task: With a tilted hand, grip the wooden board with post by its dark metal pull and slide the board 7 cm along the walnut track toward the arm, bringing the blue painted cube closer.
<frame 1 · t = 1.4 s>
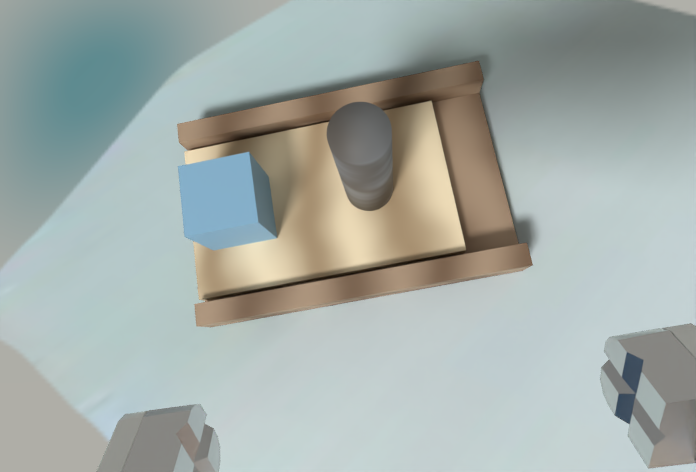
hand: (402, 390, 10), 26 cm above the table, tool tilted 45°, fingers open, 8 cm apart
track: (346, 200, 38), on the table
wooden board with post: (306, 178, 32), point 6 cm above the table, slide at 0.0 cm, touching cube
cube: (241, 213, 36), point 2 cm above the table, touching wooden board with post
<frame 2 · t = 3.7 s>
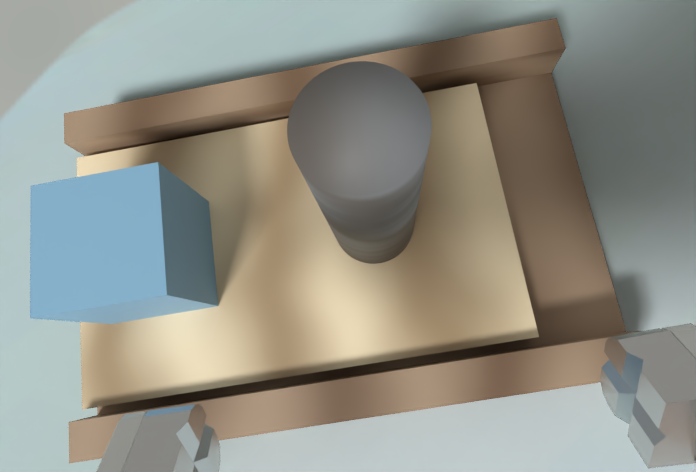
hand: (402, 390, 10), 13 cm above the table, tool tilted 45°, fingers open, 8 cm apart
track: (335, 240, 23), on the table
wooden board with post: (261, 213, 17), point 6 cm above the table, slide at 0.0 cm, touching cube
cube: (161, 261, 22), point 2 cm above the table, touching wooden board with post
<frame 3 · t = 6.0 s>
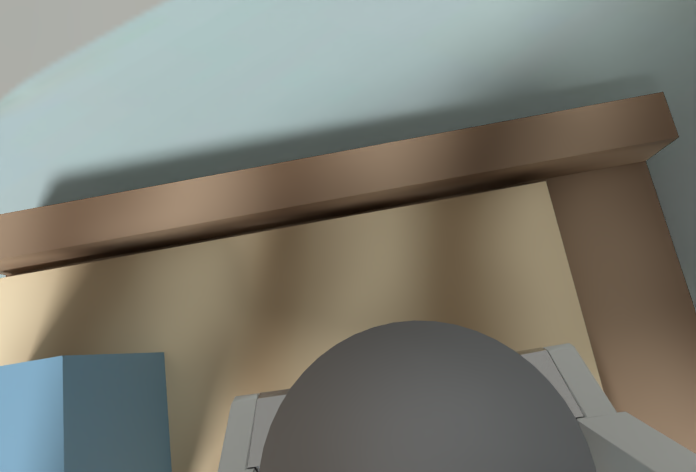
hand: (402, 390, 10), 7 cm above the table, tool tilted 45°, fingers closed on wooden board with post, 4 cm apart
track: (344, 398, 17), on the table
wooden board with post: (229, 444, 11), point 6 cm above the table, slide at 0.0 cm, touching cube, gripper
cube: (94, 443, 15), point 2 cm above the table, touching wooden board with post
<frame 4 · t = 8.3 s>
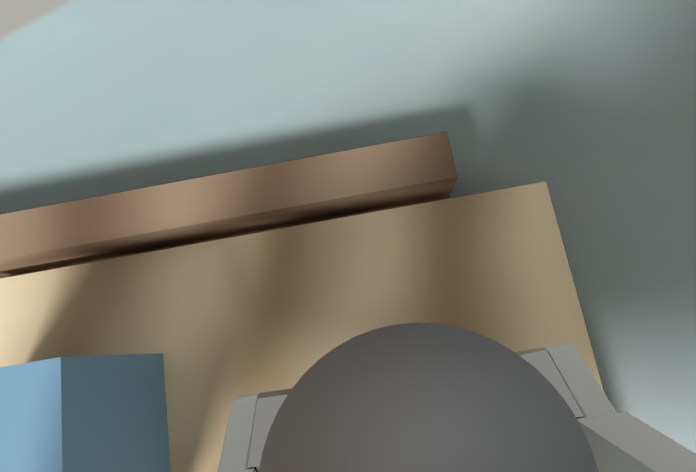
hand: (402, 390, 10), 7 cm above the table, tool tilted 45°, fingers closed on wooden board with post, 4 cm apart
track: (150, 430, 17), on the table
wooden board with post: (228, 445, 10), point 6 cm above the table, slide at 7.0 cm, touching cube, gripper
cube: (92, 445, 15), point 2 cm above the table, touching wooden board with post
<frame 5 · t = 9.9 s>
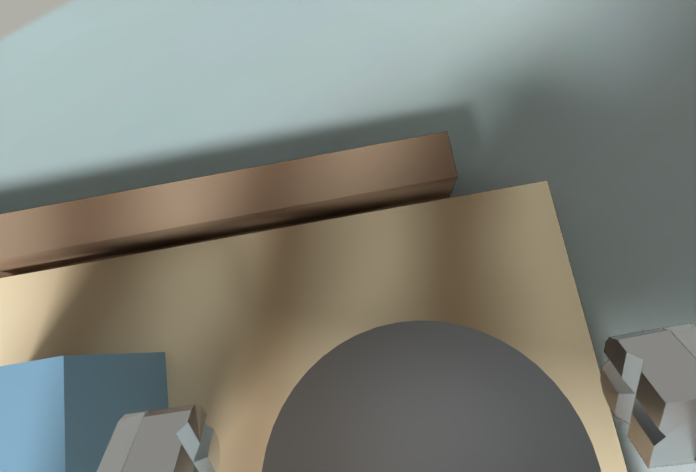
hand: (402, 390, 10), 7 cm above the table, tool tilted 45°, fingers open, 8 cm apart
track: (152, 429, 17), on the table
wooden board with post: (230, 444, 10), point 6 cm above the table, slide at 7.1 cm, touching cube
cube: (95, 443, 15), point 2 cm above the table, touching wooden board with post
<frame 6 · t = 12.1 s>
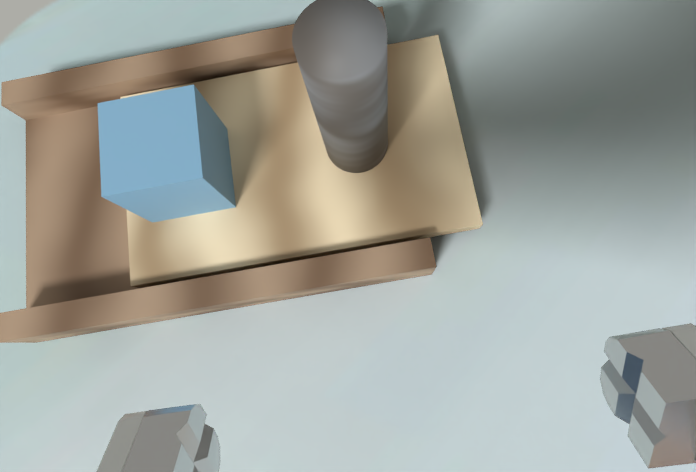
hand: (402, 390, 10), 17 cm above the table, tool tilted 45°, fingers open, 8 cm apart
track: (217, 182, 30), on the table
wooden board with post: (270, 121, 23), point 6 cm above the table, slide at 7.1 cm, touching cube
cube: (190, 174, 28), point 2 cm above the table, touching wooden board with post
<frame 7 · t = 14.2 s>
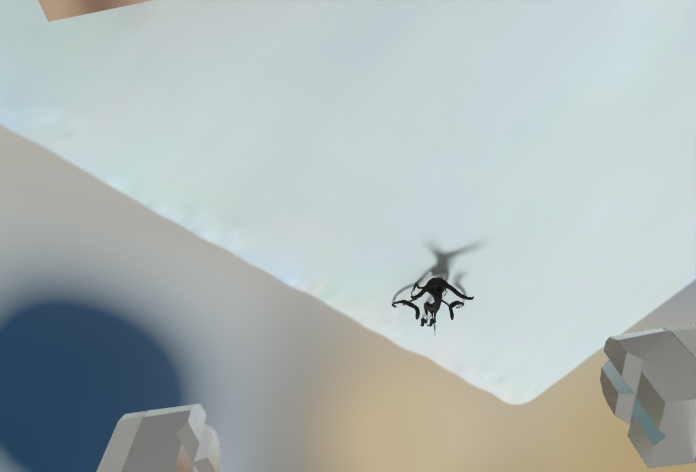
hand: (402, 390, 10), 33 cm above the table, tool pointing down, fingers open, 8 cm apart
creature: (427, 294, 51), on the table
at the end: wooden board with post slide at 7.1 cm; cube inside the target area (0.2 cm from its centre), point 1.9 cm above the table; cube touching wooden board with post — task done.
